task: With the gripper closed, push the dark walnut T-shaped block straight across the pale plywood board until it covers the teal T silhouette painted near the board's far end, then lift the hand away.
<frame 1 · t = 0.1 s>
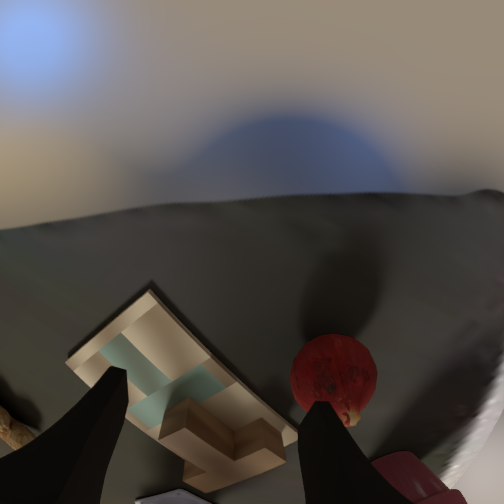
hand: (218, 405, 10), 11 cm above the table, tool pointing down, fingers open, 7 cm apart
plant pot: (382, 470, 29), on the table
t block: (231, 445, 24), point 1 cm above the table, touching board
board: (186, 406, 23), on the table
onion: (319, 346, 22), on the table
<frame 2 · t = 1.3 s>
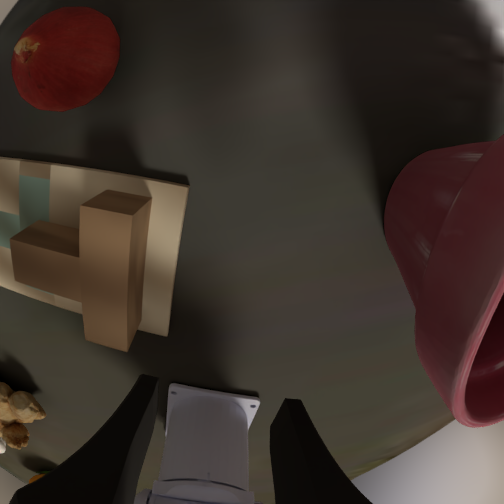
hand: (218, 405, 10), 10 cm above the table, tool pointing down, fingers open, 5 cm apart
ginger root: (7, 391, 27), on the table
plant pot: (437, 211, 19), on the table
t block: (123, 260, 19), point 1 cm above the table, touching board
board: (54, 239, 19), on the table
onion: (97, 66, 14), on the table
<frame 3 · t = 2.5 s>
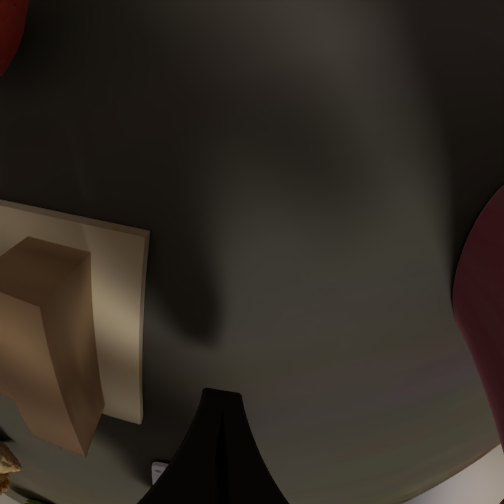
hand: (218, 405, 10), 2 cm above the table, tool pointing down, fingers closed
t block: (66, 336, 11), point 1 cm above the table, touching board
onion: (16, 44, 7), on the table
corn: (45, 503, 32), on the table
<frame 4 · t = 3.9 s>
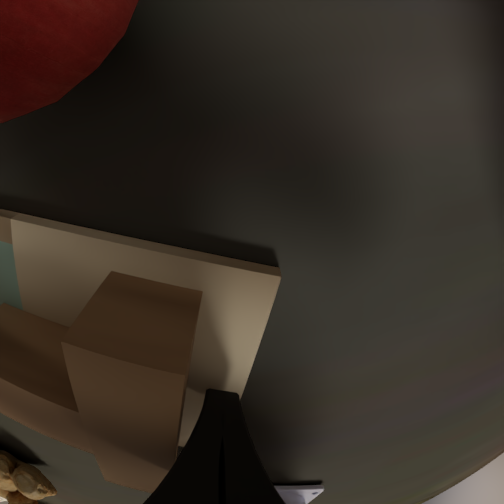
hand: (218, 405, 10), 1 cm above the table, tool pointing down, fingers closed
ginger root: (7, 453, 20), on the table
t block: (150, 376, 11), point 1 cm above the table, touching gripper
board: (36, 330, 11), on the table
onion: (90, 28, 6), on the table
white jar: (0, 472, 25), on the table
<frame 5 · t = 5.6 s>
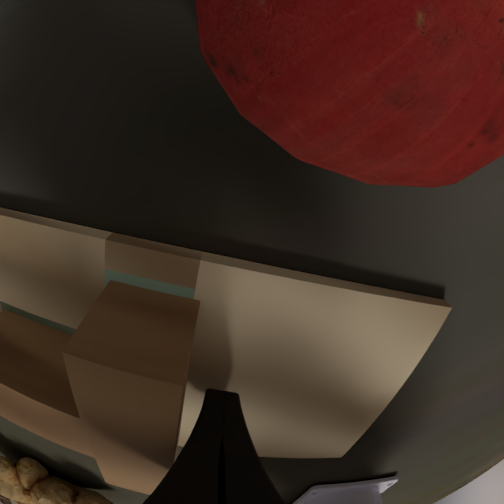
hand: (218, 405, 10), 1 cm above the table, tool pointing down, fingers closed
ginger root: (56, 477, 20), on the table
t block: (149, 381, 11), point 1 cm above the table, touching gripper
board: (183, 372, 12), on the table
onion: (321, 58, 7), on the table
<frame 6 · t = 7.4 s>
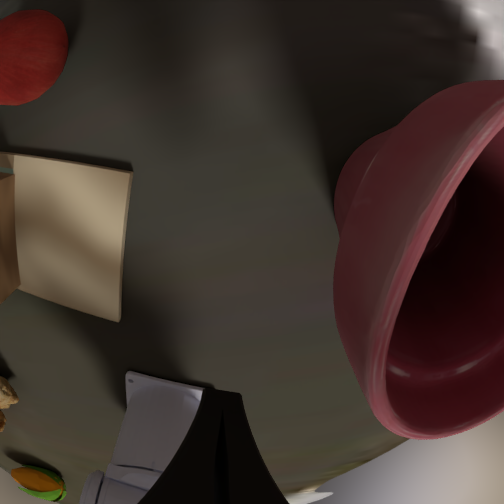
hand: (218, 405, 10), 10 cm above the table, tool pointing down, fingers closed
plant pot: (397, 198, 18), on the table
t block: (3, 229, 17), point 1 cm above the table, touching board
board: (18, 225, 18), on the table
onion: (56, 62, 14), on the table
corn: (40, 469, 39), on the table
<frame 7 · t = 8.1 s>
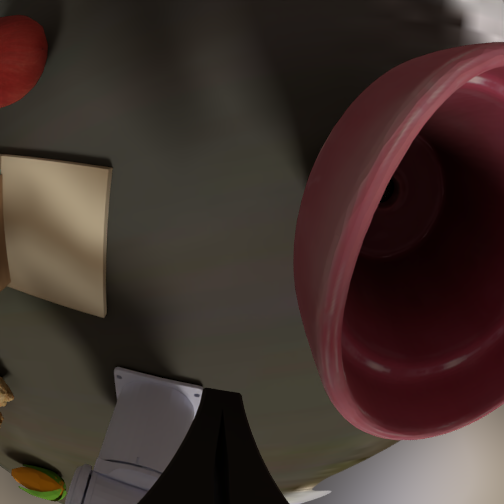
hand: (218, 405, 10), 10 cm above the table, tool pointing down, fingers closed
plant pot: (381, 187, 18), on the table
board: (7, 224, 18), on the table
onion: (39, 65, 14), on the table
corn: (40, 468, 40), on the table
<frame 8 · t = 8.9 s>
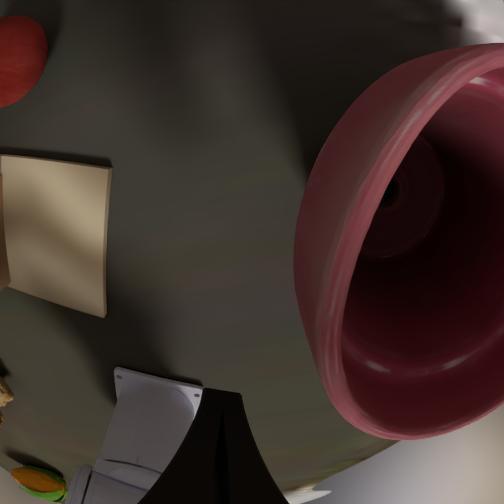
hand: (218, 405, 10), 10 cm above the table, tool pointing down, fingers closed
plant pot: (381, 187, 18), on the table
board: (7, 224, 18), on the table
onion: (39, 65, 14), on the table
corn: (41, 469, 40), on the table
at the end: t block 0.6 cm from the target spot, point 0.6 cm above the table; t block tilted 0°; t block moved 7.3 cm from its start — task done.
